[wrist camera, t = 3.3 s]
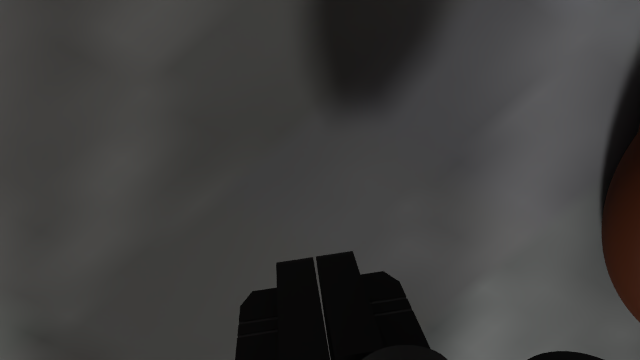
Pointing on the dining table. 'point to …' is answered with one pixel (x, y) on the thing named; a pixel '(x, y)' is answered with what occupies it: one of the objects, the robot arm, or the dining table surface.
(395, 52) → the dining table surface
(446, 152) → the dining table surface
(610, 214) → the poop emoji
